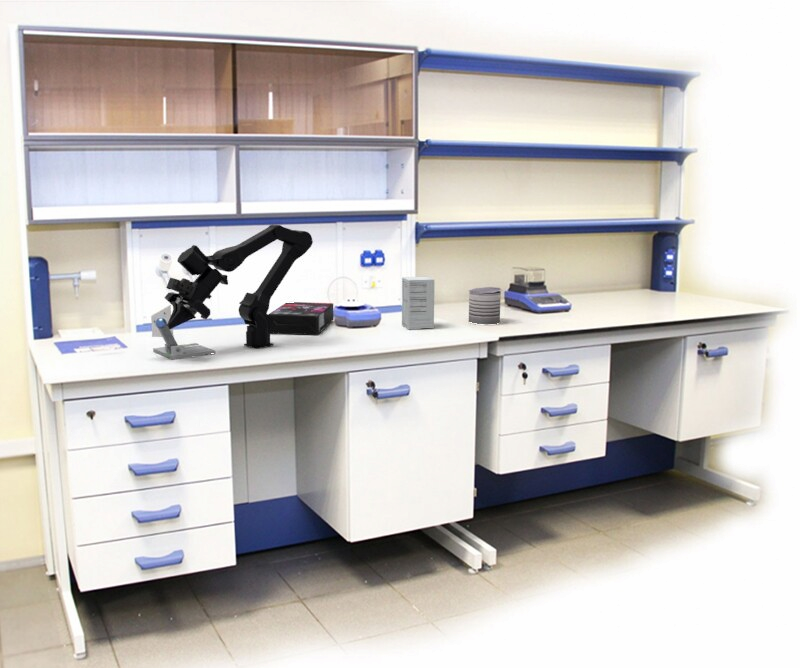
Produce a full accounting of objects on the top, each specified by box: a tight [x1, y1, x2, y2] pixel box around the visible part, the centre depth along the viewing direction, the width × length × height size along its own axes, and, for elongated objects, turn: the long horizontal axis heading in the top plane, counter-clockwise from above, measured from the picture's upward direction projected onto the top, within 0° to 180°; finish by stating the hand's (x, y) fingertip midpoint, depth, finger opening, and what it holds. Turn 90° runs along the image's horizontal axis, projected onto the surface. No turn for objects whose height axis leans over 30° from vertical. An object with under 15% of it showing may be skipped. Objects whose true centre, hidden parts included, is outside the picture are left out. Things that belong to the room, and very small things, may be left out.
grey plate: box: [150, 304, 174, 338], centre depth 269 cm, size 4×10×9 cm, turn 92°
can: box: [468, 286, 502, 325], centre depth 298 cm, size 11×11×12 cm
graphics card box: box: [267, 301, 335, 336], centre depth 286 cm, size 17×7×27 cm
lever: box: [155, 318, 179, 351], centre depth 237 cm, size 3×3×10 cm
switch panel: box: [152, 342, 216, 360], centre depth 244 cm, size 13×13×4 cm
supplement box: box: [401, 276, 435, 330], centre depth 287 cm, size 10×9×17 cm
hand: (168, 328), depth 237 cm, fingers closed, pressing on lever
